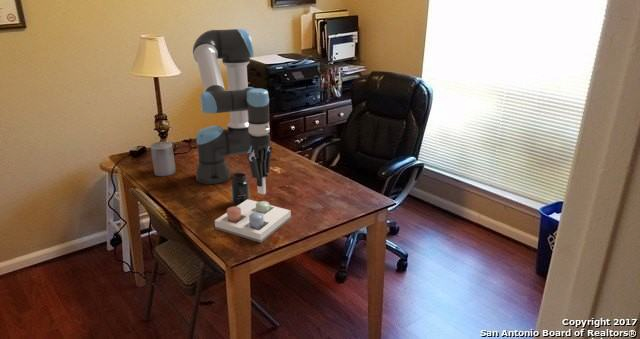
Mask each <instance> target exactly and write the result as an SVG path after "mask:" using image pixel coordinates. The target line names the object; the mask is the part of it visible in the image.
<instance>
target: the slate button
mask: <svg viewBox="0 0 640 339" xmlns="http://www.w3.org/2000/svg"><path fill="white" fill-rule="evenodd" d="M249 220H250V228H252V229H261V228H263V227H264V215H263V214H262V213H252V214H251V215H250V216H249Z"/></svg>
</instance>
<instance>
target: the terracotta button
mask: <svg viewBox="0 0 640 339" xmlns="http://www.w3.org/2000/svg"><path fill="white" fill-rule="evenodd" d="M226 213H227V220H228V222H232V223H236V222H239V221H241V209H240V208H239V207H236V206H230V207H228V208H227V209H226Z"/></svg>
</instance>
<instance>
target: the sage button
mask: <svg viewBox="0 0 640 339" xmlns="http://www.w3.org/2000/svg"><path fill="white" fill-rule="evenodd" d="M256 202H257V203H256V212H259V213H262V214H266V213H267V212H269V205H270V202H268V201H265V200H262V201H256Z"/></svg>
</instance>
